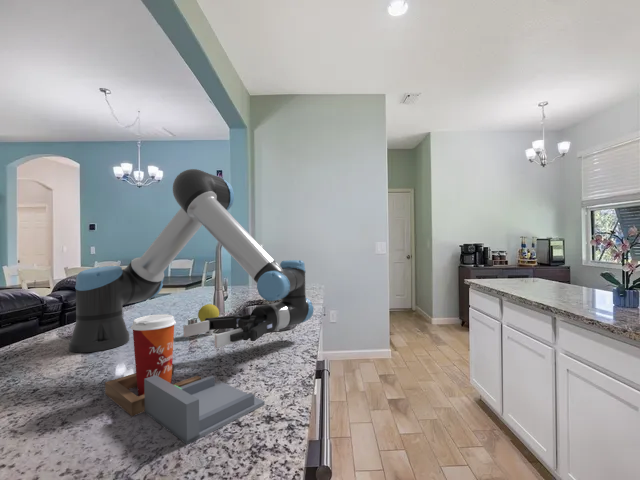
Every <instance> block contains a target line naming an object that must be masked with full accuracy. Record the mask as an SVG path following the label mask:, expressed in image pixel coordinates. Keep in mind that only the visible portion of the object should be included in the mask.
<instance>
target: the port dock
mask: <svg viewBox="0 0 640 480" xmlns="http://www.w3.org/2000/svg"><path fill="white" fill-rule="evenodd" d="M215 380H216V377H215V376H213V375H209V376H206V377H202V378H201V380H198V381H195V382H192V383H190V384H187V385H184V386H182V387H178V386H176V385H173V384H174V383H172V382H171V383H169V382H167V381H166V380H164V379H162V378H160V377H158V376H157V375H154V376H151V377H148V378H145V379H144V395H145V412H144V414H146V415H147V416H149V417H150V418H151V419H153V420H154V421H155V422H156V423H158V424H159V425H160V426H162V427H163V428H164V427H165V430H167V429H168V430H169V431H168V430H167V431H168V432H169V433H171V434H172V433H173V435H174V436H175V437H176V438H177V437H178V439H179V440H180V441H181V440H182V441H181V442H183V443H184V444H185V445H188V446H189V444H192V443H194V442H195V441H198V440H199V439H202V438H204V437H205V436H207V435H209V434H211V433H213V432H214V431H216V430H218V429H221V428H222V427H224V426H226V425H228V424H230V423H232V422H234V421H236V420H237V419H239V418H241V417H243V416H245V415H248V414H249V413H252V412H253V411H255V410H257V409H259V408H260V407H263V406H264V405H266V404H265V403H266V402H265V400H263V399H261V398H258V397H256V396H255V394H253V393H251V392H249V393H248V392H245V391H243V390H241V389H239V388H236V387H234V386H232V385H230V384H228V383H226V382H224V381H221V380H219V379H218V380H216V381H215Z"/></svg>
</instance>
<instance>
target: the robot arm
mask: <svg viewBox="0 0 640 480" xmlns="http://www.w3.org/2000/svg"><path fill="white" fill-rule="evenodd" d="M172 194H173V197H174V199H175V201H176V203H177V204H178V205H179V206H180V208H179V210H178V211H177V212H176V214H175V215H173V217H172V218H171V219H170V221H169V222H168V223H167V225H165V227H164V228H163V229H162V231H161V232H160V233H159V234H158V236H157V237H156V238H155V239H154V241H153V242H151V244H150V246H149V247H148V248H147V249H146V251H145V252H143V254H142V255H141V256H139V257H135V258H133V259H132V260H131V261H130V263H129V264H128V265H127V266H126V267H125V268H124V269H123V268H122V266H119V265H108V266H100V267H94V268H93V267H92V268H89V269H88V268H87V269H84V270H82V271H80V272H79V273H77V275H76V278H75V285H74V288H75V316H76V317H75V318H76V319H75V326H74V329H73V331H72V335H71V338H70V339H69V341H68V350H69V352H73V353H93V352H100V351H106V350H110V349H115V348H118V347H120V346H123V345H125V344H127V343H129V342H130V332H129V330H128V329H127V325H126V322H125V320H124V317H123V306H124V305H128V304H135V303H137V302H138V303H139V302H143V301H144V302H145V301H148V300H150V299H152V298H154V297H156V296H157V295H158V294H159V293H160V292H161V291H162V289H163V286H164V284H163V282H164V279H165V271H166V270H167V268H168V267H169V266H170V264H171V263H172V262H173V261H174V260H175V259H176V257H177V256H178V255H179V253H181V251H182V250H183V249H184V248H185V247H186V245H187V244H188V243H189V242H190V240H191V239H192V238H193V237H194V236H195V234H197V232H198V231H199V230H200V229H201V227H202V226H203V227H204V228H205V229H206V230H207V232H208V233H210V234H211V235H212V237H213V238H214V239H215V240H216V241H217V242H218V244H220V245H221V246H222V248H223V249H224V250H226V252H227V253H228V254H230V256H231V257H232V258H233V259H234V260H235V261H236V262H237V264H238V265H239V266H240V267H242V269H243V270H244V271H245V272H246V273H247V274H248V276H249V277H251V278H252V279H253V280H254V282H255V283H256V289H257V292H258V294H259V296H260V297H261V298H262V299H263V300H265V301H268V302H272V303H269V304H264V305H260V306H256V307H254V308H253V310H252V312H251V313H250V314H249V313H248V314H247V313H246V314H241V313H239V314H233V315H226V316H225V315H224V316H218V317H214V318H206V319H205V321H203V322H201V321H198V322H195V323H190V324H186V325H183V327H182V328H183V330H182V331H183V338H188V337H192V336H196V335H200V334H203V333H204V334H205V332H207V333H209V330H214V331H215V330H227V329H231V330H228V331H225V332H220V333H217V334H214V348H216V349H218V348H222V347H225V346H228V345H231V344H235V343H238V342H241V341H246V342H247V341H249V340H250V341H251V342H255V341H256V340H258V339H260V338H261V337H263V336H264V335H265V334H266V335H267V334H269V333H272V332H279V331H280V330H281V329H284V328H288V327H291V326H295V325H301V324H302V323H305V322H307V321H309V320H310V319H311V318H312V316H313V315H314V306H313V304H312V303H313V302H312V301H311V300H310V298H308V297H307V296H306V267H305V261H303V260H301V259H292V260H291V259H290V260H289V259H288V260H281V261H280V265H279V263H278V262H276V261H275V259H274V258H273V257H272V256H271V255H270V254H269V253H268V251H266V249H264V248H263V247H262V245H260V244H259V243H258V242H257V241H256V239H254V237H253V236H252V235H251V234H250V233H249V232H248V231H247V229H246V228H244V227H243V226H242V225H241V224H240V222H238V221H237V219H236V218H234V216H233V215H232V214H231V213H230V212H229V210H230V209H231V208H232V206H233V204H234V201H235V193H234V188H233V186H232V184H231V183H230V182H228V181H227V180H226V179H224V178H223V177H221V176H218V175H214V174H211V173H208V172H206V171H203V170H202V169H197V168H190V169H187V170H183V171H181V172H180V173H179V174H177V175H176V177H175V178H174V180H173V184H172ZM279 300H280V301H279ZM274 301H276V302H274Z"/></svg>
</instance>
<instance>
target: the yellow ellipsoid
mask: <svg viewBox="0 0 640 480" xmlns="http://www.w3.org/2000/svg"><path fill="white" fill-rule="evenodd" d="M214 317H220V309H219V308H218V306H216V305H215V304H212V303H211V304H210V303H208V304H205V305H202V306H201V307H200V308H199V310H198V313H197V318H198V319H199V322H203V321H205V319H206V318H214ZM214 331H215V330H209V333H207V332H205V333H204V334H205V336H212V335H213V334H214ZM211 334H212V335H211Z"/></svg>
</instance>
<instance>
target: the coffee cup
mask: <svg viewBox="0 0 640 480" xmlns="http://www.w3.org/2000/svg"><path fill="white" fill-rule="evenodd" d="M174 317H175V316H173V315H172V314H167V313H166V314H151V315H149V314H148V315H144V316H141V317H138V318H135V319H133V321H132V325H131V326H130V329H131V330H132V336H133V337H132V338H133V349H134V351H133V352H134V363H135V373H136V378H137V387H136V388H137V396H141V395H144V379H145V378H148V377H151V376H154V375H157V376H158V377H160V378H162V379H164V380H166V381H167V382H169V383H171V384H172V376H173V375H172V364H173V359H174V358H173V357H174V339H175V338H174V337H175V336H174V335H175V325H176V324H177V322H176V320H175V318H174Z"/></svg>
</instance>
